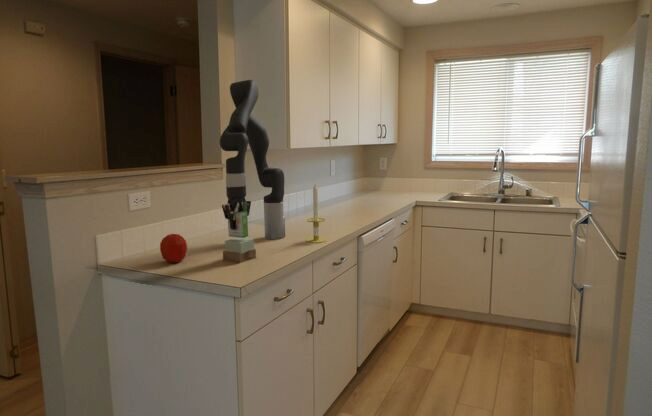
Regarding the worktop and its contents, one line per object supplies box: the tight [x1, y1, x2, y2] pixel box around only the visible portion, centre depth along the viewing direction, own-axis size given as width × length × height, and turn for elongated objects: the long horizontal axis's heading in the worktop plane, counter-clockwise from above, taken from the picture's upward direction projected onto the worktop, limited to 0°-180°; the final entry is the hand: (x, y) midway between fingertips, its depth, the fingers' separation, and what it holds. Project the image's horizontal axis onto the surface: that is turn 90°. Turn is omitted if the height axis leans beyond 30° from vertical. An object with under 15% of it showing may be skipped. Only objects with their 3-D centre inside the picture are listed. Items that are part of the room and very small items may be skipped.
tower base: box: [222, 248, 257, 264], centre depth 182 cm, size 9×9×4 cm
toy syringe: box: [305, 183, 328, 244], centre depth 212 cm, size 10×10×27 cm
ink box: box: [227, 203, 249, 238], centre depth 180 cm, size 7×4×13 cm, turn 63°
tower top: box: [224, 237, 255, 253], centre depth 182 cm, size 8×8×4 cm
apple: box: [159, 233, 188, 264], centre depth 179 cm, size 10×10×12 cm
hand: (237, 228), depth 180 cm, fingers closed on ink box, 4 cm apart
